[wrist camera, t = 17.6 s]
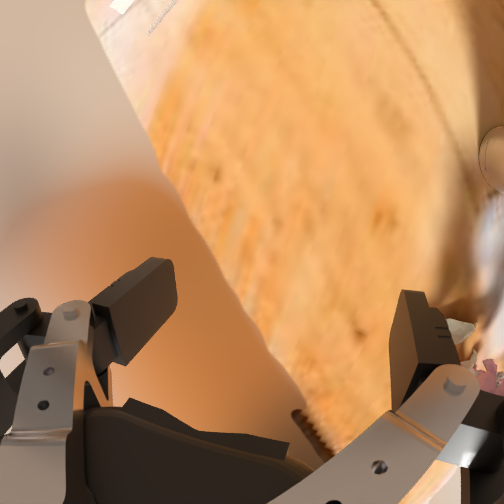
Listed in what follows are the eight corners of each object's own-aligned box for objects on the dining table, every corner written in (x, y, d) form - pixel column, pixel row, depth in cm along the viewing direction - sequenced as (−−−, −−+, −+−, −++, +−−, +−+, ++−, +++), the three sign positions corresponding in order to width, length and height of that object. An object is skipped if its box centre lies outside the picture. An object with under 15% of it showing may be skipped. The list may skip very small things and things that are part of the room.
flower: (355, 392, 50) (411, 512, 29) (396, 288, 39) (507, 437, 18) (439, 368, 53) (498, 461, 32) (485, 275, 42) (579, 374, 22)
